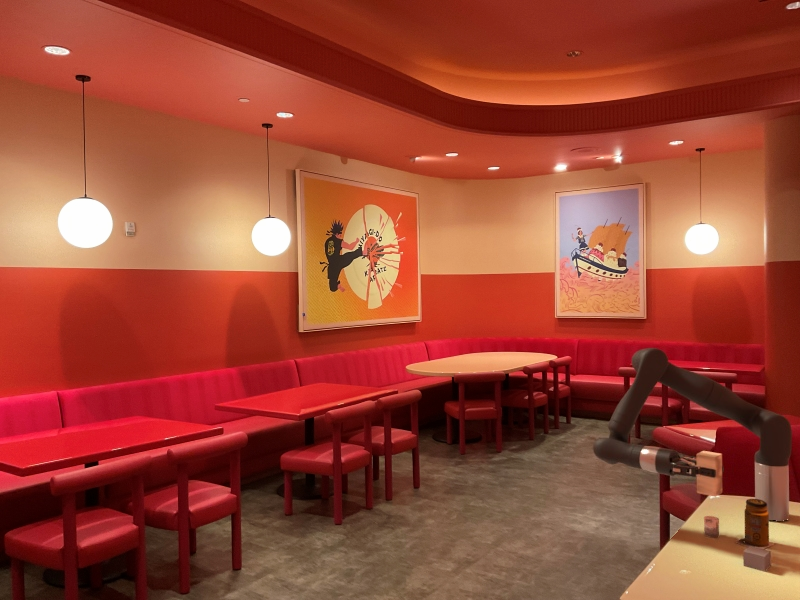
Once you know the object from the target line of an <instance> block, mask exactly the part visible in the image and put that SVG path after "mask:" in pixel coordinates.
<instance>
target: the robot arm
mask: <svg viewBox="0 0 800 600" xmlns="http://www.w3.org/2000/svg"><path fill="white" fill-rule="evenodd" d="M631 366H632V368H633V370H634V371H635V372H636V375H635V377H634V379H633V382H632V383H631V386H629V389H627V392H625V394H624V395H623V397H622V398H621V399H620V401H619V402H618V404H617V405H616V407H615V409H614V411H613V413H612V415H611V418H610V420H609V422H608V424H607V429H608V430H609V435H608V437H601V438H598V439H596V440H595V441H594V443H593V446H592V451H593V454H594V455H595V456H596V458H598V459H599V460H601V461H603V462H605V463H607V464H609V465H617V464H618V463H619V464H623V465H626V466H628V467H630V468H634V469H639V470H644V471H648V472H651V473H657V474H660V475H666V476H671V477H675V476H676V475H679V476H687V477H692V478H695V477H696V478H697V476H701V475H703V476H708V477H713V478H714V477H716V470H715V469H710V468H705V467H700V466H697V456H694V455H692V456H690V457H689V456H683V457H680V453H679V452H678V451H677V450H675V449H671V448H664V447H659V446H648V445H643V444H636V443H628V442H629V438H630V434H631V432H632V430H633V428H634V427H635V425H636V421H637V419H638V417H639V415H640V413H641V411H642V409H643V407H644V405H645V403H646V402H647V399H648V398H649V396H650V394H651V393H652V391H653V390H654V388H655V387H656V386H657V384H658V383H660V384H662V385H664V386H665V387H668V388H669V389H672V390H673V391H674V392H676V393H677V394H679V395H680V396H683V397H684V398H685V399H688V400H689V401H691V402H692V403H695V405H698V406H699V407H702V408H703V409H706V410H707V411H709V412H712V413H714V414H717V415H718V416H722V417H724V418H727V419H730V420H732V421H734V422H736V423H737V424H739V425H741V426H742V427H744V428H745V429H747V430H748V431H750V432H751V433H752V434H754V435H755V436H756V437H758V438H759V440H760V441H759V449H758V450H757V451H755V453H754V492H755V493H754V499H759V500H763V501H765V502H766V503H767V512H768V514H769V520H777V521H783V520H787V519H789V520H790V489H789V488H790V486H789V483H790V479H789V460H790V458H791V456H792V441H793V440H792V436H793V435H792V434H793V432H792V425H791V423H790V421H789V420H788V418H786V417H785V416H784V415H782V414H779V413H777V412H774V411H771V410H768V409H766V408H762V407H759V406H757V405H755V404H752V403H750V402H748V401H746V400H744V399H743V398H741V397H740V396H739V395H737V394H736V393H735V392H734V391H732V390H731V389H730V388H728V387H726V386H725V385H723V384H721V383H720V382H717V381H715V380H713V379H712V378H710V377H708V376H706V375H703V374H700V373H697V372H694V371H692V370H688V369H684V368H681V367H679V366H677V365H675V364H674V363H671V362H670V361H669V358H668V355H667V353H666V352H664V350H662V349H661V348H656V347H648V348H642V349H639V350H637V351H636V352H635V353H634V354H633V355H632V357H631ZM724 471H725V469H724V465H723V464H722V474H723V473H724ZM777 521H776V522H777ZM783 522H784V521H783Z"/></svg>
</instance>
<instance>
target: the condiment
mask: <svg viewBox="0 0 800 600" xmlns="http://www.w3.org/2000/svg"><path fill="white" fill-rule="evenodd" d="M769 523H770V521H769V514H768V512H767V503H766V502H765V501H763V500H759V499H755V498H748V499H746V501H745V509H744V537H743V538H740V539H738V540H735V541H734V543H736V544H738V545H741V546H744V547H745V548H748V547H749V546H753V547H757V548H761V549H765V550H766V548H770V547H772V546H774V545H776V542H771V541H770V526H769V525H770V524H769Z"/></svg>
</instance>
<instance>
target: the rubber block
mask: <svg viewBox="0 0 800 600" xmlns="http://www.w3.org/2000/svg"><path fill="white" fill-rule="evenodd" d="M742 553H743V555H742V557H743V567H746V568H750V569H753V570H756V571H760V572H764V573H765V572H766V571H767V570H768V569H769V568H770V567H771V566H772V565H771V564H772V563H771V560H772V559H771V554H772V553H771V550H768V549H766V548H765V549H761V548H757V547H753V546H749V547H746V548H745V549H744V550H743V551H742Z"/></svg>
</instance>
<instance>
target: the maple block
mask: <svg viewBox="0 0 800 600" xmlns="http://www.w3.org/2000/svg"><path fill="white" fill-rule="evenodd" d="M695 457H697V466H700V467H705V468H710V469H715V470H716V477H714V478H713V477H708V476H703V475H701V476H697V475H696V493H697V494H701V495H704V496H710V497H715V498H716V497H717V496H720V495H721V494H722V493H723V473H722V465H723V453H719V452H712V451H709V450H708V451H706V450H702V451H700V452H698V453H696V456H695Z"/></svg>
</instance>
